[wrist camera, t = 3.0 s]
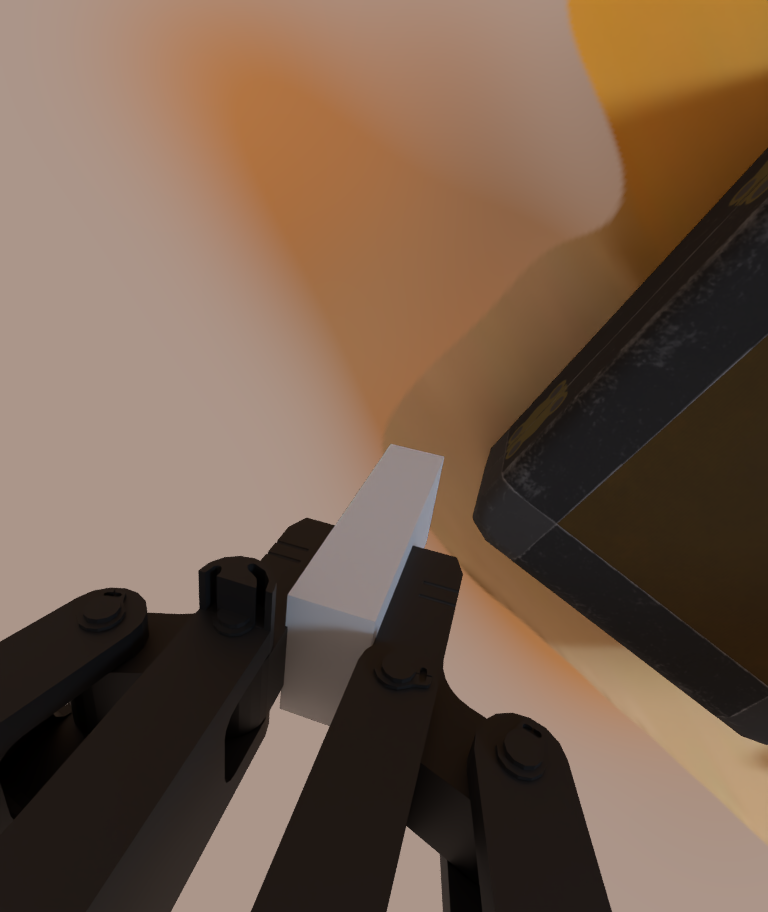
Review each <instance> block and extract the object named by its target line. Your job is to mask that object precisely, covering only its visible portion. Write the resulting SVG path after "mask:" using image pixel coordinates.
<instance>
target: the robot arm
mask: <svg viewBox="0 0 768 912" xmlns="http://www.w3.org/2000/svg"><path fill="white" fill-rule="evenodd" d="M443 461H444V456H440V455H436V454H431V453H427V452H423V451H419V450H415V449H411V448H406V447H402V446H398V445H394V444H390V446H389V447H388V448H387V450H386V451H385V453H384V454H383V456H382V457H381V459H380V460H379V462H378V463H377V465H376V466H375V468H374V469H373V471H372V472H371V473H370V475H369V476H368V478H367V479H366V481H365V482H364V484H363V485H362V487H361V488H360V489H359V491H358V493H357V494H356V495H355V497H354V498H353V500H352V501H351V503H350V504H349V506H348V507H347V509H346V510H345V512H344V513H343V514H342V516H341V517H340V519H339V520H338V522H337V523H336V525H331V524H328V523H324V522H320V521H317V520H313V519H309V518H305V519H303V520H301V521H299V522H297V523H295V524H293V525H291V526H289V527H288V528H287V530H286V531H285V532H284V533H283V535H282V536H281V537H280V538H279V539H278V541H277V543H275V544H274V545H273V546H272V548H271V549H270V550H269V552H268V554H266V555H265V556H264V557H263V558H262V560H261V561H259V560H257V559H255V558H249V557H243V556H235V557H224V558H221V559H219V560H215V561H212V562H210V563H208V564H207V565H206V566H204V567H203V568H202V569H200V570H199V601H200V602H199V605H200V609H199V610H198V611H197V612H196V613H194V614H163V613H147V607H146V601H145V600H144V599H143V598H142V597H141V596H140V595H139V594H138V593H136V592H134V591H131V590H128V589H125V588H106V589H101V590H95V591H92V592H89V593H87V594H85V595H82V596H80V597H78V598H76V599H74V600H72V601H71V602H69V603H67V604H65V605H64V606H62V607H60V608H58V609H57V610H55V611H53V612H52V613H50V614H48V615H46V616H44V617H43V618H41V619H39V620H37V621H36V622H34V623H32V624H30V625H29V626H27V627H25V628H23V629H22V630H20V631H18V632H16V633H15V634H13V635H11V636H10V637H8V638H6V639H4V640H2V641H1V642H0V912H171V910H172V908H173V906H174V905H175V903H176V901H177V899H178V897H179V895H180V893H181V892H182V890H183V888H184V886H185V884H186V882H187V880H188V878H189V877H190V875H191V873H192V871H193V869H194V867H195V865H196V864H197V862H198V860H199V858H200V856H201V854H202V852H203V851H204V849H205V847H206V845H207V843H208V841H209V839H210V837H211V836H212V834H213V832H214V830H215V828H216V826H217V824H218V823H219V821H220V819H221V817H222V815H223V813H224V811H225V809H226V808H227V806H228V804H229V802H230V800H231V798H232V797H233V794H234V793H235V791H236V789H237V787H238V785H239V783H240V782H241V780H242V778H243V776H244V774H245V772H246V770H247V769H248V767H249V765H250V763H251V761H252V759H253V757H254V755H255V754H256V752H257V750H258V748H259V746H260V744H261V742H262V741H263V739H264V737H265V734H266V731H267V728H268V724H269V711H270V709H271V707H272V705H273V703H274V702H275V700H276V698H277V696H278V694H279V693H280V691H281V699H280V709H283V710H286V711H289V712H291V713H294V714H297V715H300V716H303V717H305V718H308V719H311V720H314V721H317V722H320V723H322V724H325V725H328V726H330V727H329V729H328V732H327V734H326V737H325V739H324V741H323V743H322V746H321V748H320V750H319V753H318V755H317V757H316V760H315V762H314V764H313V767H312V770H311V772H310V774H309V776H308V779H307V781H306V783H305V786H304V788H303V790H302V793H301V795H300V797H299V800H298V802H297V804H296V807H295V809H294V812H293V814H292V816H291V819H290V821H289V823H288V826H287V828H286V830H285V833H284V835H283V838H282V840H281V842H280V844H279V847H278V849H277V851H276V854H275V856H274V859H273V861H272V863H271V865H270V868H269V870H268V873H267V875H266V878H265V880H264V882H263V885H262V887H261V889H260V892H259V894H258V896H257V898H256V901H255V903H254V906H253V908H252V910H251V912H386V911H387V907H388V903H389V898H390V894H391V890H392V885H393V881H394V876H395V872H396V868H397V863H398V859H399V855H400V850H401V846H402V841H403V837H404V833H405V828H406V826H407V827H408V828H410V829H411V830H412V831H413V832H414V833H415V834H417V835H418V836H419V837H420V838H422V839H423V840H424V841H425V842H426V843H428V844H429V845H430V846H431V847H432V848H434V849H435V850H436V851H437V852H438V853H439V854H440V864H441V883H442V902H443V912H612V910H611V908H610V904H609V900H608V897H607V893H606V890H605V886H604V883H603V880H602V876H601V873H600V869H599V866H598V863H597V859H596V856H595V852H594V849H593V845H592V842H591V838H590V835H589V831H588V828H587V825H586V821H585V818H584V814H583V811H582V807H581V804H580V801H579V797H578V794H577V790H576V787H575V783H574V780H573V777H572V773H571V770H570V766H569V763H568V760H567V758H566V756H565V754H564V752H563V749H562V747H561V745H560V743H559V742H558V741H557V740H556V739H555V738H554V737H553V736H552V734H551V733H550V732H549V731H548V730H547V729H546V728H545V727H543V726H541V725H540V724H538V723H537V722H535V721H534V720H532V719H531V718H528V717H525V716H521V715H518V714H515V713H502V714H495V715H493V716H491V717H489V718H488V719H486V718H485V717H483V716H482V715H480V714H479V713H477V712H476V711H474V710H473V709H471V708H469V706H467V705H466V704H465V703H464V702H462V701H461V700H460V699H459V698H458V697H457V696H456V695H455V694H454V693H453V691H452V690H451V688H450V687H449V685H448V683H447V681H446V679H445V675H444V671H443V660H444V655H445V651H446V646H447V642H448V637H449V633H450V629H451V624H452V620H453V615H454V610H455V606H456V602H457V598H458V593H459V589H460V585H461V580H462V576H463V573H462V571H461V568H460V565H459V562H458V560H457V558H456V557H453V556H449V555H445V554H442V553H438V552H435V551H431V550H428V549H424V547H425V544H426V542H427V538H428V533H429V528H430V523H431V519H432V514H433V509H434V504H435V499H436V495H437V490H438V485H439V480H440V475H441V470H442V466H443ZM67 703H68V704H67ZM66 704H67V705H66Z"/></svg>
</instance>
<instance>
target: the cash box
mask: <svg viewBox="0 0 768 912" xmlns="http://www.w3.org/2000/svg"><path fill="white" fill-rule="evenodd" d="M473 520H474V522H475V524H476V525H477V527H478V529H479V530H480V532H481V533H482V535H483V537H484V538H485V540H486V541H487V542H489V543H490V544H491V545H493V546H494V547H495V548H496V549H498V550H499V551H500V552H502V553H503V554H504V555H506V556H507V557H508V558H510V559H511V560H512V561H513V562H515V563H516V564H517V565H518V566H520V567H521V568H522V569H524V570H525V571H526V572H528V573H529V574H530V575H532V576H533V577H534V578H535V579H537V580H538V581H539V582H541V583H542V584H543V585H545V586H546V587H547V588H549V589H550V590H551V591H552V592H554V593H555V594H556V595H558V596H559V597H560V598H562V599H563V600H564V601H566V602H567V603H568V604H569V605H571V606H572V607H573V608H575V609H576V610H577V611H579V612H580V613H581V614H583V615H584V616H585V617H586V618H588V619H589V620H590V621H592V622H593V623H594V624H596V625H597V626H598V627H600V628H601V629H602V630H603V631H605V632H606V633H607V634H609V635H610V636H611V637H613V638H614V639H615V640H617V641H618V642H619V643H620V644H622V645H623V646H624V647H626V648H627V649H628V650H630V651H631V652H632V653H634V654H635V655H636V656H637V657H639V658H640V659H641V660H643V661H644V662H645V663H647V664H648V665H649V666H650V667H652V668H653V669H654V670H656V671H657V672H658V673H660V674H661V675H662V676H664V677H665V678H666V679H667V680H669V681H670V682H671V683H673V684H674V685H675V686H677V687H678V688H679V689H681V690H682V691H683V692H684V693H686V694H687V695H688V696H690V697H691V698H692V699H694V700H695V701H696V702H698V703H699V704H700V705H701V706H703V707H704V708H705V709H707V710H708V711H709V712H711V713H712V714H713V715H715V716H716V717H717V718H719V719H720V720H721V721H723V722H724V723H725V724H727V725H728V726H729V727H730V728H732V729H733V730H734V731H736V732H737V733H738V734H740V735H741V736H743V737H746V738H749V739H752V740H754V741H757V742H760V743H762V744H765V745H768V148H767V149H766V150H765V151H764V152H763V154H762V155H761V156H760V157H759V158H758V159H757V160H756V161H755V162H754V163H753V164H752V166H751V167H750V168H749V169H748V170H747V171H746V172H745V173H744V174H743V175H742V176H741V177H740V179H739V180H738V181H737V182H736V183H735V184H734V185H733V186H732V187H731V188H730V189H729V191H728V192H727V193H726V194H725V195H724V196H723V197H722V198H721V199H720V200H719V201H718V202H717V204H716V205H715V206H714V207H713V208H712V209H711V210H710V211H709V212H708V213H707V214H706V215H705V217H704V218H703V219H702V220H701V221H700V222H699V223H698V224H697V225H696V226H695V227H694V229H693V230H692V231H691V232H690V233H689V234H688V235H687V236H686V237H685V238H684V239H683V240H682V242H681V243H680V244H679V245H678V246H677V247H676V248H675V249H674V250H673V251H672V252H671V254H670V255H669V256H668V257H667V258H666V259H665V260H664V261H663V262H662V263H661V264H660V265H659V267H658V268H657V269H656V270H655V271H654V272H653V273H652V274H651V275H650V276H649V277H648V279H647V280H646V281H645V282H644V283H643V284H642V285H641V286H640V287H639V288H638V289H637V290H636V292H635V293H634V294H633V295H632V296H631V297H630V298H629V299H628V300H627V301H626V302H625V303H624V305H623V306H622V307H621V308H620V309H619V310H618V311H617V312H616V313H615V314H614V315H613V317H612V318H611V319H610V320H609V321H608V322H607V323H606V324H605V325H604V326H603V327H602V328H601V330H600V331H599V332H598V333H597V334H596V335H595V336H594V337H593V338H592V339H591V340H590V342H589V343H588V344H587V345H586V346H585V347H584V348H583V349H582V350H581V351H580V352H579V353H578V355H577V356H576V357H575V358H574V359H573V360H572V361H571V362H570V363H569V364H568V365H567V367H566V368H565V369H564V370H563V371H562V372H561V373H560V374H559V375H558V376H557V377H556V378H555V380H554V381H553V382H552V383H551V384H550V385H549V386H548V387H547V388H546V389H545V390H544V391H543V393H542V394H541V395H540V396H539V397H538V398H537V399H536V400H535V401H534V402H533V403H532V405H531V406H530V407H529V408H528V409H527V410H526V411H525V412H524V413H523V414H522V415H521V416H520V418H519V419H518V420H517V421H516V422H515V423H514V424H513V425H512V426H511V427H510V428H509V430H508V431H507V432H506V433H505V434H504V435H503V436H502V437H501V438H500V439H499V441H498V442H497V443H496V444H495V445H494V446H493V447H492V448H491V451H490V454H489V457H488V460H487V463H486V466H485V470H484V474H483V477H482V481H481V485H480V489H479V493H478V497H477V501H476V505H475V509H474V513H473Z"/></svg>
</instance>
